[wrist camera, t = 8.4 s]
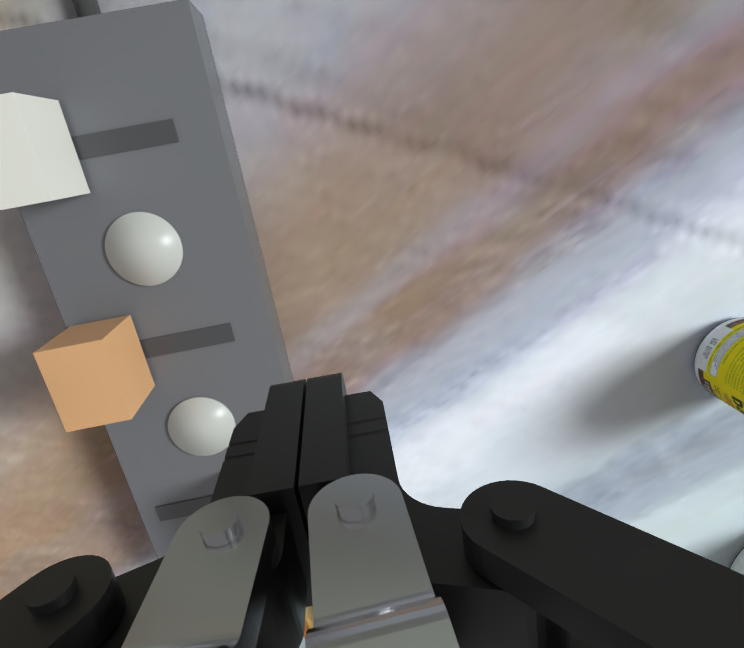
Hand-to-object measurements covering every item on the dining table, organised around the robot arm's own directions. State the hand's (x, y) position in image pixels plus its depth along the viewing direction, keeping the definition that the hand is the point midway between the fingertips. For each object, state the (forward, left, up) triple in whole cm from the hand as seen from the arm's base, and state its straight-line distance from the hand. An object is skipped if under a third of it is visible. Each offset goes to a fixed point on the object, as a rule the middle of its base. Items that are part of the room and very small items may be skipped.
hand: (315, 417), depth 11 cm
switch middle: (+3, -11, -16) cm, 20 cm away
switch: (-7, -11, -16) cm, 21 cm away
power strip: (-2, -8, -19) cm, 21 cm away
